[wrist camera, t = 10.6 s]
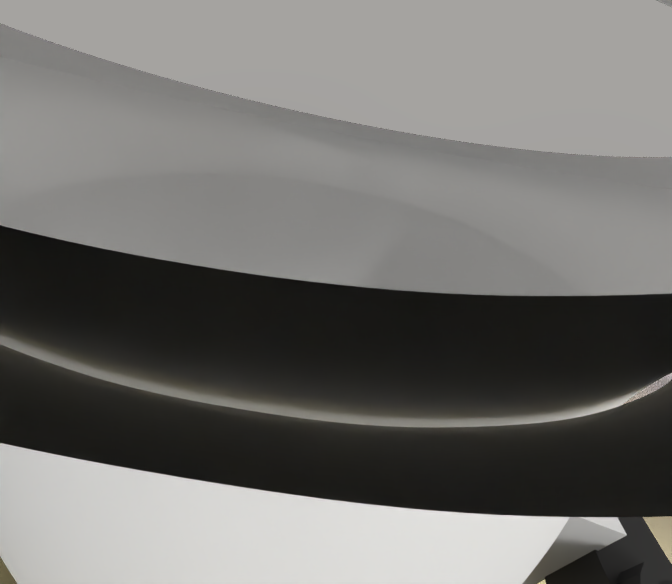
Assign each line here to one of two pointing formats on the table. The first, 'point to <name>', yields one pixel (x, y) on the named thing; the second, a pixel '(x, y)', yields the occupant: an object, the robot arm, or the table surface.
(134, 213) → the jar
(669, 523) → the table surface
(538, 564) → the robot arm
